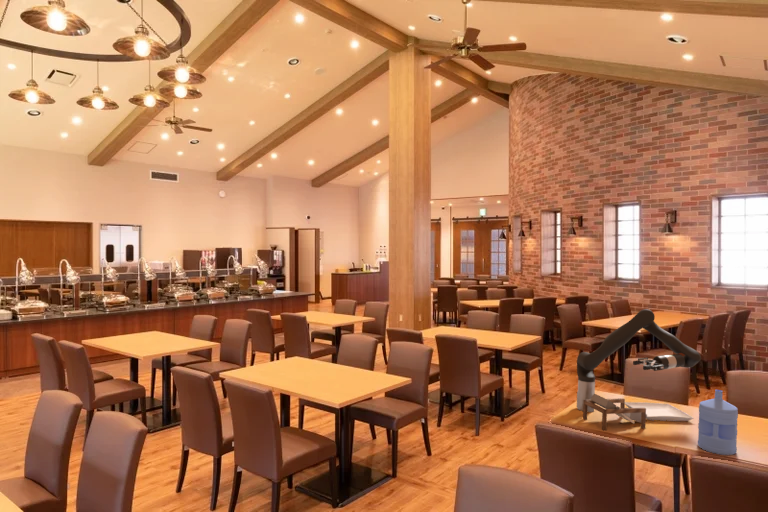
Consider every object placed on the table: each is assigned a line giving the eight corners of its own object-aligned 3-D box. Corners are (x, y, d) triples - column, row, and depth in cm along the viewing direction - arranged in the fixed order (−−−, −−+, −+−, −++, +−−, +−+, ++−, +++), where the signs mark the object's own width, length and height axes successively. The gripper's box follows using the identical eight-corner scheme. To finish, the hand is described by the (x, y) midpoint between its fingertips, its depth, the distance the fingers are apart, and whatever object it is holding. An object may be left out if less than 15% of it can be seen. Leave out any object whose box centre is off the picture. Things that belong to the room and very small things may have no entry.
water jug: (700, 440, 259) (702, 384, 259) (738, 448, 249) (740, 390, 249) (694, 449, 247) (696, 390, 247) (734, 458, 237) (736, 397, 237)
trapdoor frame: (603, 430, 271) (604, 408, 270) (583, 418, 289) (583, 397, 289) (645, 428, 275) (646, 406, 275) (622, 416, 294) (623, 396, 293)
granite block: (625, 407, 286) (640, 411, 288) (623, 416, 286) (638, 420, 288) (631, 410, 281) (647, 414, 283) (629, 419, 281) (644, 423, 283)
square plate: (694, 424, 285) (695, 417, 285) (644, 422, 286) (644, 415, 286) (668, 408, 312) (668, 402, 312) (622, 407, 313) (622, 401, 313)
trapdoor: (605, 407, 273) (609, 400, 273) (589, 399, 287) (593, 393, 287) (632, 426, 277) (636, 419, 277) (615, 417, 290) (619, 411, 291)
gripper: (656, 351, 295) (630, 355, 293) (674, 359, 281) (647, 363, 279) (656, 364, 296) (630, 367, 294) (674, 373, 282) (646, 376, 280)
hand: (638, 365), depth 286 cm, fingers open, 8 cm apart
